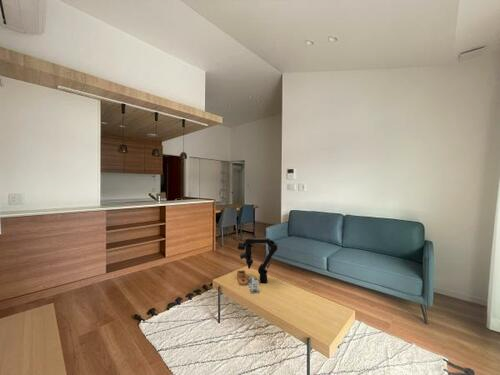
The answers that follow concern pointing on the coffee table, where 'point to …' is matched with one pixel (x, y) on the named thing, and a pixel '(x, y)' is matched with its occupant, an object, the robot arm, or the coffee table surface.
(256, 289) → the wood-topped grey block
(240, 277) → the bracket
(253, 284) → the vise
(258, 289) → the mat
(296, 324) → the coffee table surface
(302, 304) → the coffee table surface
